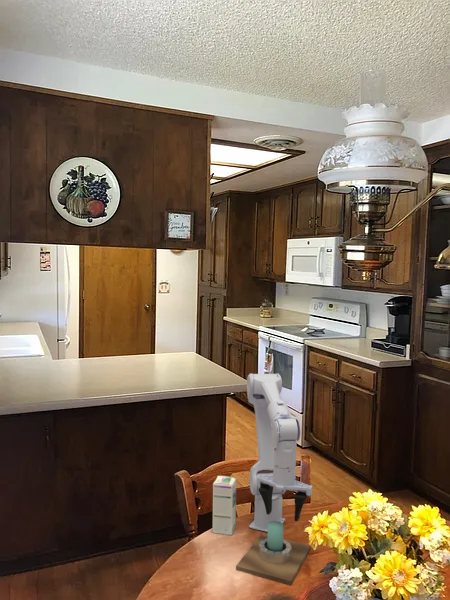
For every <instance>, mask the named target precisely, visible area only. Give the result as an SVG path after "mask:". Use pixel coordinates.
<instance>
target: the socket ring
mask: <svg viewBox="0 0 450 600" xmlns="http://www.w3.org/2000/svg"><path fill="white" fill-rule="evenodd" d="M291 550H292V547H291V545H290V543H289V542H287V541H285V540H283V551H281V552H274V551H270V550H268V549H267V539H264V540H262V541H261V542H260V544H259V556H260V558H261V559H262V560H264V561H265V562H268V563H271V564H283V563H286V562H288V561H289V560H290V558H291Z"/></svg>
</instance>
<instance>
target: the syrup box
mask: <svg viewBox="0 0 450 600" xmlns="http://www.w3.org/2000/svg"><path fill="white" fill-rule="evenodd" d="M236 517H237V477H234V476H228V475H217V477H216V478H215V480H214V481H213V483H212V534H217V535H226V536H232V535H233V533H234V531H235V528H236V526H237V523H236V521H237V518H236Z"/></svg>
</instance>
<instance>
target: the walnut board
mask: <svg viewBox="0 0 450 600" xmlns="http://www.w3.org/2000/svg"><path fill="white" fill-rule="evenodd" d="M267 535H268V534H266V533H265V534H264V533H261V534H259V536H258V537H257V538H256V540H255V541H254V542H253V544H252V545H251V546H250V547H249V549H248V550H247V552H246V553H245V554H244V555H243V556H242V558H241V559H240V560H239V562H238V563H237V564H236V565H235V570H236V571H238V572H242V573H246V574H250V575H253V576H256V577H259V578H265V579H267V580H270V581H274V582H278V583H281V584H285V585H289V586H292V585H293V582H294V580H295V579H296V576H297V575H298V573H299V571H300V569H301V568H302V566H303V564H304V562H305V560H306V558H307V557H308V555H309V553H310V551H311V550H312V549H311V547H312V546H311V547H310V544H306V543H303V542H302V543H301V542H298V541H295V540H290V539H286V538H283V540H285V541H287V542H289V543H290V545H291V547H292V550H291V558H290V560H289V561H288V562H286V563H283V564H271V563H268V562H265V561H264V560H262V559H261V558H260V556H259V544H260V542H261V541H262V540H264V539H267Z"/></svg>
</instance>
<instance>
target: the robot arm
mask: <svg viewBox="0 0 450 600" xmlns="http://www.w3.org/2000/svg"><path fill="white" fill-rule="evenodd" d="M282 389H283V379H282V376H281V374H280V373H249V374H248V375H247V378H246V391H247V392H246V393H247V395H246V396H247V399H248V402H247V403H249V404H251V405H253V408H254V416H255V429H256V440H257V441H256V443H257V455H258V456H257V457H258V461H257V462H255V464H253V465H252V466H251V467H250V470H249V490H250V493H251V494H252V495H253V496H254V517H253V519H254V520H253V521H252V522H251V523H250V524H249V526H248V527H249V528H250V529H253V530H257V531H261V532H262V531H263V532H266V533H268V523H269V522H272V521H278V522H281V523H282V524H283V525H284V522H285V521H286V518H285V517H283V501H284V499H283V495H284V494H285V493H286V491H289V492H290V491H292V492H296V494H294V497H293V499H294V500H293V501H294V522H298V521H299V520H300V519H301V518H300V516H301V513H302V510H303V506H304V505H305V502H306V499H307V498H308V496H309V497H310V496H312V494H313V485H311V484H307V483H304V482H301V481H299V480H296V471H297V468H296V467H297V441H298V442H299V441H300V439H301V424H300V420H299V419H298V417H295V416H293V415H292V413H291V410H290V408H289V406H288V404H287V403H286V402H285V401H284V400H282V398H281V392H282Z"/></svg>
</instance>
